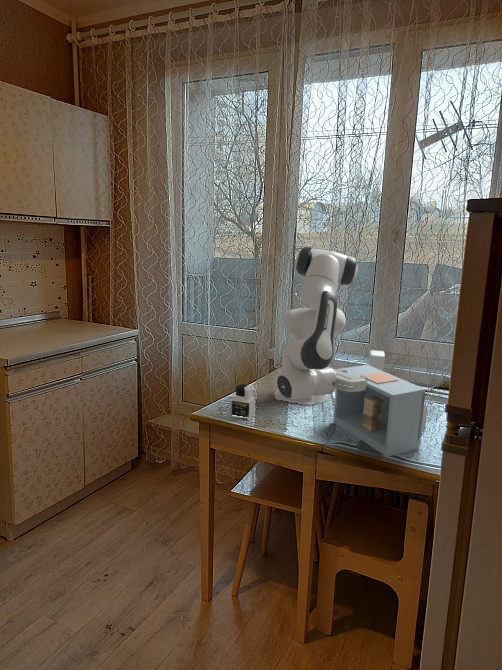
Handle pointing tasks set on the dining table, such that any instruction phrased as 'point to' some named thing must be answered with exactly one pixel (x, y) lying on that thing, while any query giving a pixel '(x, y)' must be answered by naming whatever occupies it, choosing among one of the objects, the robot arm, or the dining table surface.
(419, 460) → the dining table surface
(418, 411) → the cubby
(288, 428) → the dining table surface
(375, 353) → the skincare box
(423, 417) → the tea bag
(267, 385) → the dining table surface
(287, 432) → the dining table surface
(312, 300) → the robot arm
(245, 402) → the medicine bottle
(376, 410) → the oak block
